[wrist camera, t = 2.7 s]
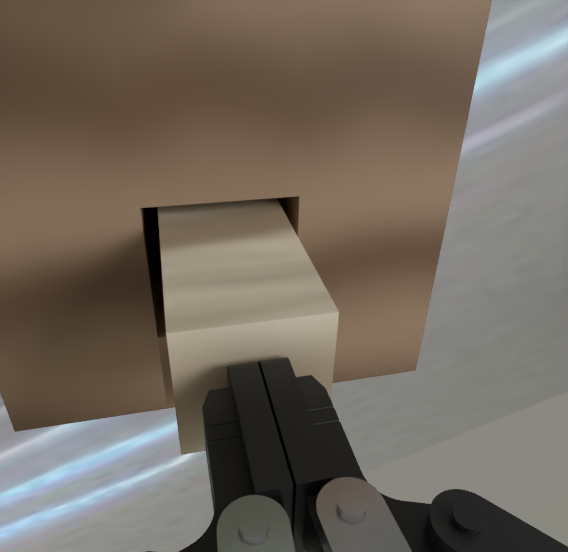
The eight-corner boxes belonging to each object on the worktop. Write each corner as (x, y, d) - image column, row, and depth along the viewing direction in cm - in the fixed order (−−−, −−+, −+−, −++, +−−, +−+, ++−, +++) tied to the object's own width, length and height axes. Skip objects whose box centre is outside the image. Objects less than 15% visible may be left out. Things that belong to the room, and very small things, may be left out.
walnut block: (-165, -476, 13) (-479, -912, 6) (422, -377, 16) (615, -598, 10) (47, 307, 26) (14, 431, 19) (352, 274, 29) (415, 370, 22)
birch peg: (156, 194, 18) (166, 333, 11) (270, 186, 19) (339, 312, 12) (167, 291, 20) (181, 454, 14) (270, 280, 21) (327, 429, 14)
